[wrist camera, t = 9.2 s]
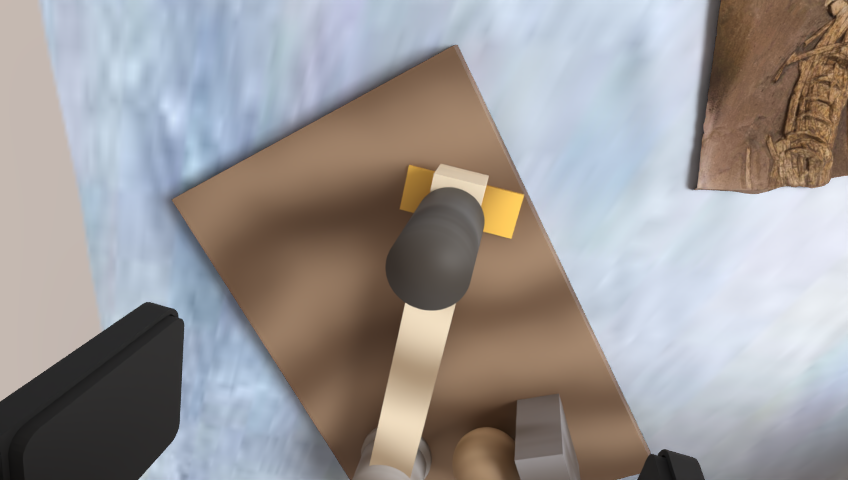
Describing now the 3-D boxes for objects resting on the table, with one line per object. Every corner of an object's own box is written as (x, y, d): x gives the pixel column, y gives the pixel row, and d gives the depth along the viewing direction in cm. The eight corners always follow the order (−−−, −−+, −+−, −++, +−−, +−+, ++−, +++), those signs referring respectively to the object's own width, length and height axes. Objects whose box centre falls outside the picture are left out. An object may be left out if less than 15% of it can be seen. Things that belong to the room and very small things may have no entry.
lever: (416, 508, 36) (383, 641, 28) (355, 489, 37) (306, 615, 29) (505, 177, 28) (494, 235, 20) (426, 157, 28) (385, 207, 21)
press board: (650, 451, 35) (674, 541, 29) (392, 521, 40) (367, 608, 34) (457, 44, 29) (436, 49, 23) (186, 192, 34) (112, 228, 28)
